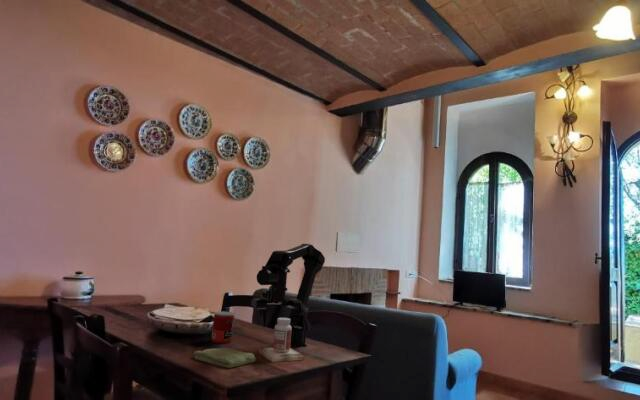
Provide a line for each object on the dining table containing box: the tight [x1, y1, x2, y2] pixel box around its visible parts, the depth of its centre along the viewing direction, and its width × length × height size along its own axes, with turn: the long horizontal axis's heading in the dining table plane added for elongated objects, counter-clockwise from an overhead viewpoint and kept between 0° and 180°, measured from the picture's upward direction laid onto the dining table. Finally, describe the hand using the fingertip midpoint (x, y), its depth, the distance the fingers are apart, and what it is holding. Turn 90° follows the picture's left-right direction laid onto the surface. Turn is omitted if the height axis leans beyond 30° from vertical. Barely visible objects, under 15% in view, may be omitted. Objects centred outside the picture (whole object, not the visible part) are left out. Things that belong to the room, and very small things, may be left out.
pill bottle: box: [272, 317, 292, 352], centre depth 150 cm, size 6×6×11 cm
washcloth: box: [193, 347, 256, 369], centre depth 139 cm, size 13×18×3 cm
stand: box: [258, 346, 305, 363], centre depth 149 cm, size 12×12×2 cm
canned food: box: [211, 310, 235, 345], centre depth 166 cm, size 8×8×11 cm
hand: (275, 326), depth 157 cm, fingers open, 9 cm apart
